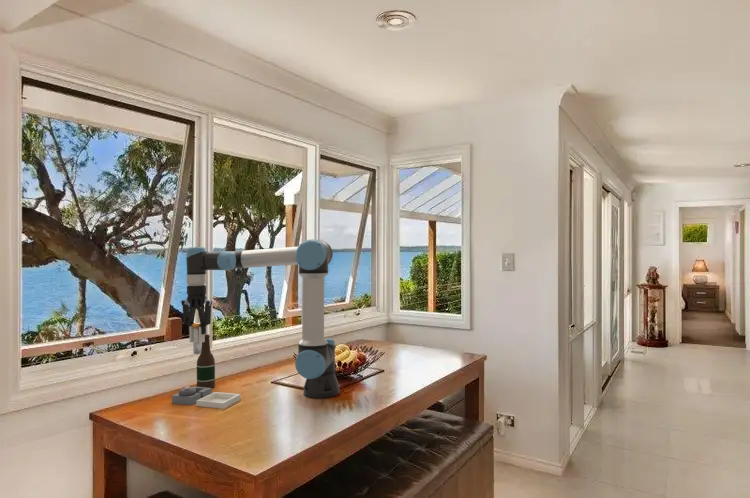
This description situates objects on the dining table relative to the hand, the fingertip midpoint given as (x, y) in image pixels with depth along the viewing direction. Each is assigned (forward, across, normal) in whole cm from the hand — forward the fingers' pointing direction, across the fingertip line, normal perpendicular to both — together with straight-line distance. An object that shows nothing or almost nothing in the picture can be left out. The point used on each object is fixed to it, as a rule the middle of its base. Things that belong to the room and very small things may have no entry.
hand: (197, 341), depth 199 cm
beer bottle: (+24, +5, -13) cm, 28 cm away
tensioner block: (+24, 0, +3) cm, 24 cm away
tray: (+24, -13, +4) cm, 27 cm away
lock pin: (+5, 0, 0) cm, 5 cm away
